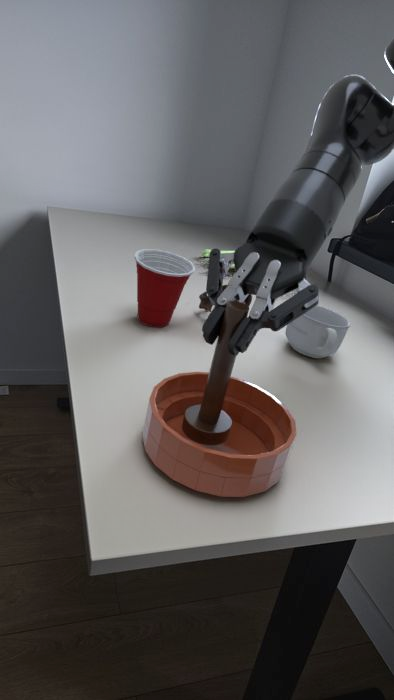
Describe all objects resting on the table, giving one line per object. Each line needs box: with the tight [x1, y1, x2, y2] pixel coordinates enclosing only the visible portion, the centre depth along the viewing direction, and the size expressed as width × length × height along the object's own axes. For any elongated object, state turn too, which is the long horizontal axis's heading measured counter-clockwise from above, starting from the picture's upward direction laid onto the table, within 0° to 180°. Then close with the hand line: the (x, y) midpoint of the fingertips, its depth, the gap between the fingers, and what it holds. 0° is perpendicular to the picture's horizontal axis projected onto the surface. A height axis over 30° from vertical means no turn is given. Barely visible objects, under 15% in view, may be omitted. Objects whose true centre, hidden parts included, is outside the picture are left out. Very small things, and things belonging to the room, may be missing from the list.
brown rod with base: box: [182, 301, 250, 445], centre depth 54 cm, size 6×6×16 cm
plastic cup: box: [133, 248, 196, 328], centre depth 88 cm, size 11×11×12 cm
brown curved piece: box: [198, 284, 253, 313], centre depth 99 cm, size 12×10×8 cm
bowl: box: [141, 371, 298, 498], centre depth 59 cm, size 17×17×6 cm
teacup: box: [285, 304, 351, 359], centre depth 91 cm, size 14×11×8 cm
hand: (219, 345), depth 51 cm, fingers closed on brown rod with base, 2 cm apart
